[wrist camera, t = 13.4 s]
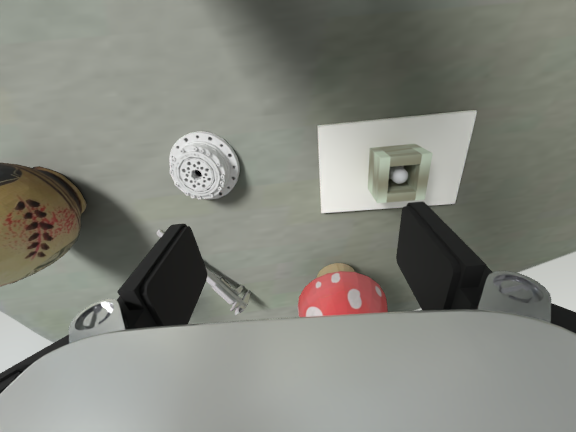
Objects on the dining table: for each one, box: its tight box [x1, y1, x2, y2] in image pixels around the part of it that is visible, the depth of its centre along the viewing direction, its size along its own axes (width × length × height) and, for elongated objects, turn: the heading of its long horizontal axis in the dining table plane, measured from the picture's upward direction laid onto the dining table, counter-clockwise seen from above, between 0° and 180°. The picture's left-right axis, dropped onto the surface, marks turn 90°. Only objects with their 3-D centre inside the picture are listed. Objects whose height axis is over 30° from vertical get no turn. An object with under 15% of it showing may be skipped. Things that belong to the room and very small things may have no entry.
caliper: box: [157, 229, 251, 315], centre depth 44 cm, size 20×1×6 cm, turn 47°
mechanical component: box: [169, 131, 240, 200], centre depth 36 cm, size 10×4×10 cm
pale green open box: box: [368, 144, 433, 203], centre depth 33 cm, size 6×6×5 cm
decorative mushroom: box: [298, 263, 388, 317], centre depth 39 cm, size 13×13×15 cm
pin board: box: [317, 110, 477, 213], centre depth 34 cm, size 13×20×6 cm, turn 96°
